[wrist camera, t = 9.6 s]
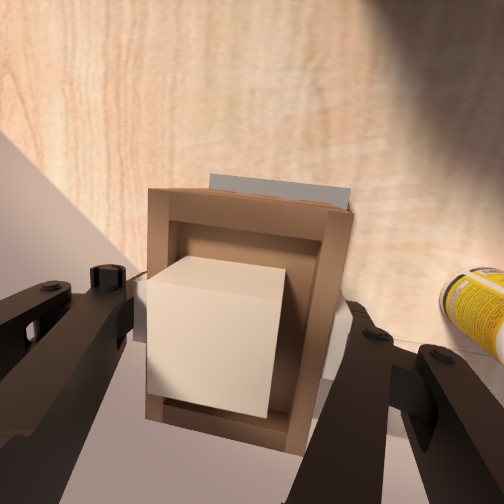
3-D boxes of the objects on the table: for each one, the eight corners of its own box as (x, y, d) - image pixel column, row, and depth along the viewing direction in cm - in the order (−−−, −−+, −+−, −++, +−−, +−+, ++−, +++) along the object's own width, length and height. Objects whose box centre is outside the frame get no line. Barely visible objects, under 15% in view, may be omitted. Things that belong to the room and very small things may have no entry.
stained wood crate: (210, 188, 16) (148, 188, 9) (328, 202, 15) (354, 213, 8) (199, 334, 18) (145, 418, 12) (300, 354, 18) (303, 456, 11)
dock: (219, 175, 26) (209, 173, 23) (344, 188, 25) (351, 188, 22) (211, 288, 29) (201, 299, 26) (322, 306, 28) (325, 320, 25)
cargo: (186, 255, 11) (147, 280, 8) (285, 269, 10) (281, 301, 7) (184, 342, 12) (147, 393, 9) (273, 359, 11) (266, 418, 8)
